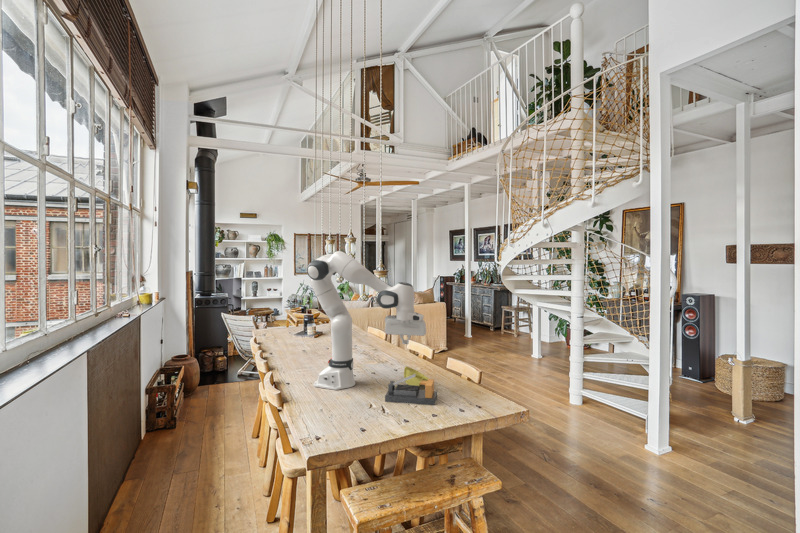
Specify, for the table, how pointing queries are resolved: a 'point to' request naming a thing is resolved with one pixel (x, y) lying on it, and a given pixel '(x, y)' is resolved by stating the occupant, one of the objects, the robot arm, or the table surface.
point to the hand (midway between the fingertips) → (405, 343)
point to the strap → (404, 379)
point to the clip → (428, 387)
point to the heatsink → (408, 395)
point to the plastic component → (416, 379)
